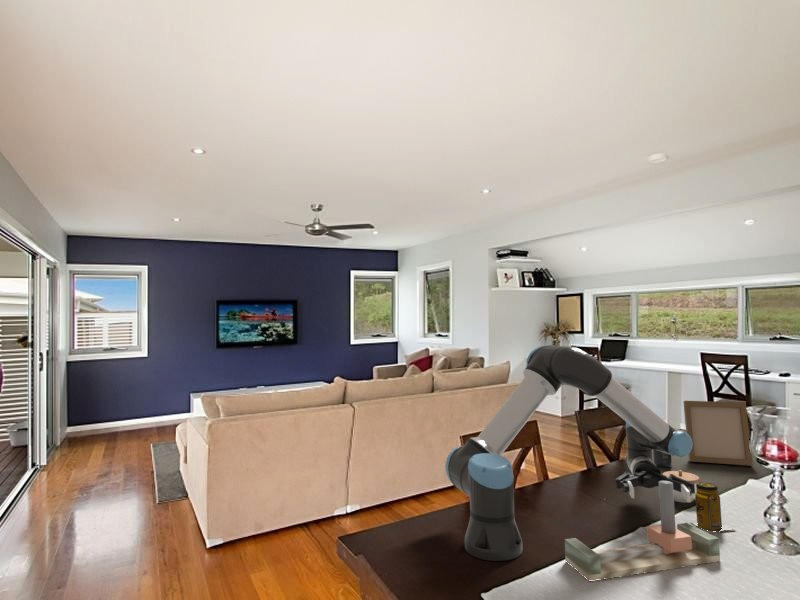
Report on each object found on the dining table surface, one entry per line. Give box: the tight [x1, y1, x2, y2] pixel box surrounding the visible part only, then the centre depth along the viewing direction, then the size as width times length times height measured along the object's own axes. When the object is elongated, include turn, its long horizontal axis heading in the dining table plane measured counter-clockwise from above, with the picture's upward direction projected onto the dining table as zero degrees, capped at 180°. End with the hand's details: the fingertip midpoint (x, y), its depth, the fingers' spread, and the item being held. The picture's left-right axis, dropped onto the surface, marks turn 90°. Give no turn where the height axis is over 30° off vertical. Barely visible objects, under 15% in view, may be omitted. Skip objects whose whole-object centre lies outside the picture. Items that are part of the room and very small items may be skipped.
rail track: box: [564, 522, 721, 581], centre depth 121 cm, size 36×10×6 cm, turn 103°
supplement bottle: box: [652, 449, 673, 469], centre depth 200 cm, size 7×7×12 cm
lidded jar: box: [661, 469, 700, 504], centre depth 162 cm, size 11×11×9 cm
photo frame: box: [683, 400, 754, 467], centre depth 206 cm, size 15×22×25 cm
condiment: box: [695, 481, 737, 534], centre depth 140 cm, size 7×8×12 cm
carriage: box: [646, 481, 692, 554], centre depth 123 cm, size 6×8×16 cm
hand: (660, 495), depth 132 cm, fingers open, 13 cm apart
